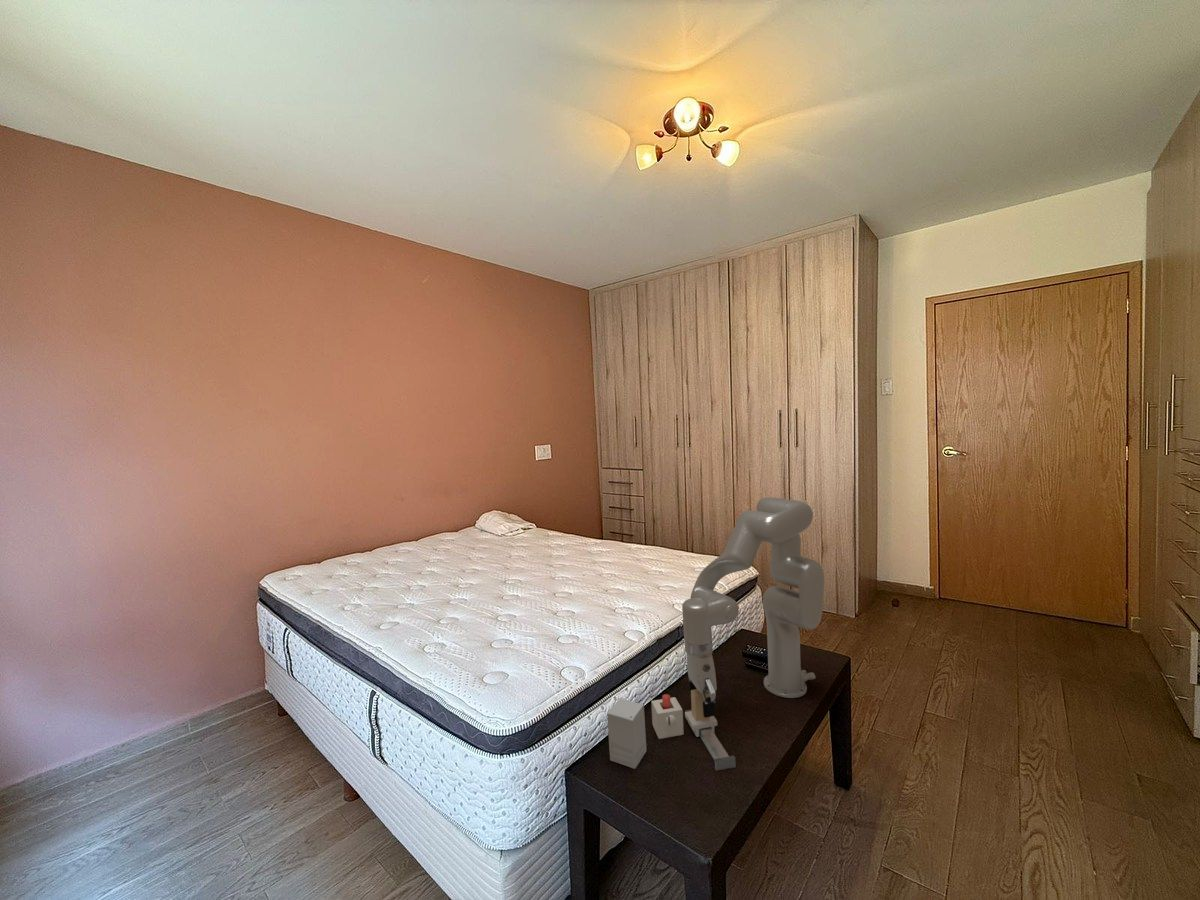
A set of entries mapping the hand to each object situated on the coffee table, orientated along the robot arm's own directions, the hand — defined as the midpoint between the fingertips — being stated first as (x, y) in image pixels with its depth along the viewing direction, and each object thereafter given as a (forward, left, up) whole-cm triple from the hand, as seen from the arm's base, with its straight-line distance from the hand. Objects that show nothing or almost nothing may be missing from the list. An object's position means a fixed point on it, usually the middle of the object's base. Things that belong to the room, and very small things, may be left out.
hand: (702, 705), depth 126 cm
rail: (+1, +5, -7) cm, 8 cm away
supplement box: (+23, +5, -7) cm, 24 cm away
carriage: (+1, 0, -6) cm, 6 cm away
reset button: (+10, -2, -2) cm, 10 cm away
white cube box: (+10, -2, -7) cm, 12 cm away
